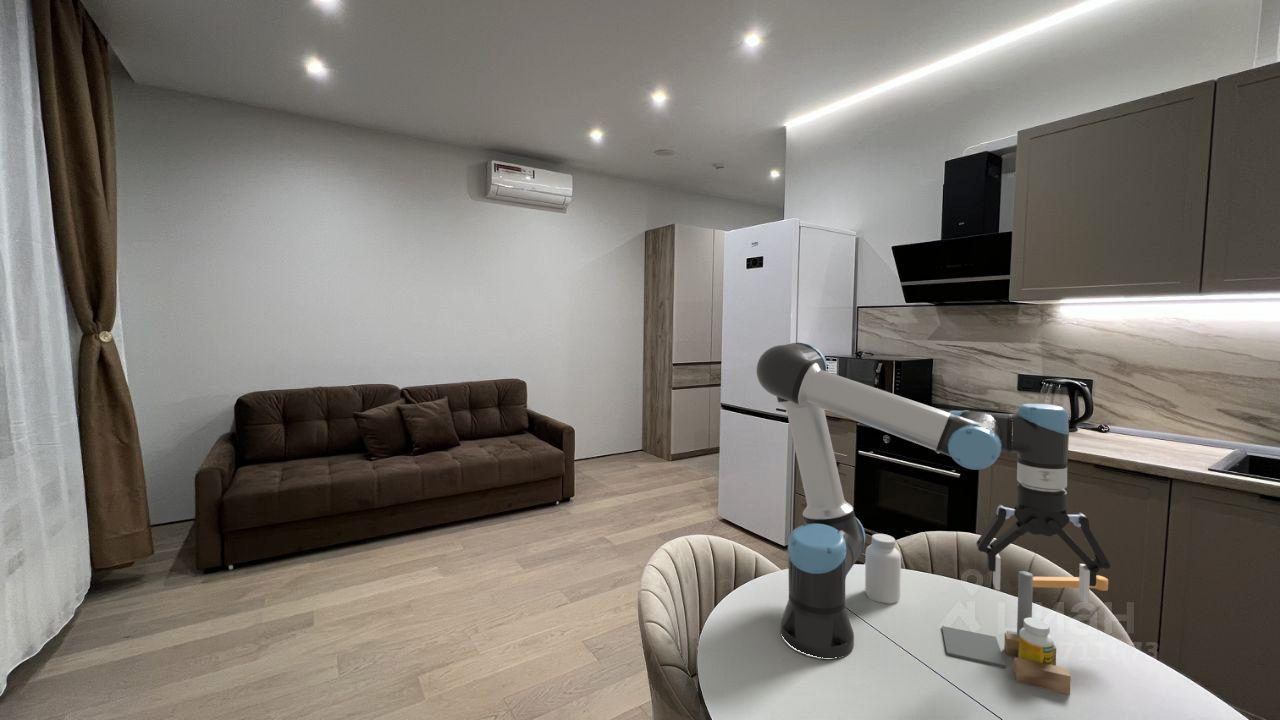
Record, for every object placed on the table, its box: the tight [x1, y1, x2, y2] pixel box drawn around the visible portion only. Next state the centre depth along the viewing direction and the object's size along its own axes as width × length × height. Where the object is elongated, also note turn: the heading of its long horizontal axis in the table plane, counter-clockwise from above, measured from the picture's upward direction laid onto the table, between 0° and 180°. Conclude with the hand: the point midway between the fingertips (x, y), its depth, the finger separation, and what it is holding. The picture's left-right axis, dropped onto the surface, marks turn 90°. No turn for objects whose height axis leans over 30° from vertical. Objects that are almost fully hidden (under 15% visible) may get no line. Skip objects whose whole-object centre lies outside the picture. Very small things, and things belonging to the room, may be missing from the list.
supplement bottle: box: [1017, 617, 1055, 665], centre depth 100 cm, size 5×5×10 cm
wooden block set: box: [1003, 629, 1072, 695], centre depth 103 cm, size 8×17×4 cm, turn 155°
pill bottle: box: [864, 533, 902, 604], centre depth 127 cm, size 8×8×15 cm
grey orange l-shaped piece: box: [1016, 570, 1109, 635], centre depth 107 cm, size 3×17×14 cm, turn 85°
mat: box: [941, 625, 1007, 669], centre depth 107 cm, size 10×10×1 cm
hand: (1038, 593), depth 99 cm, fingers open, 13 cm apart
